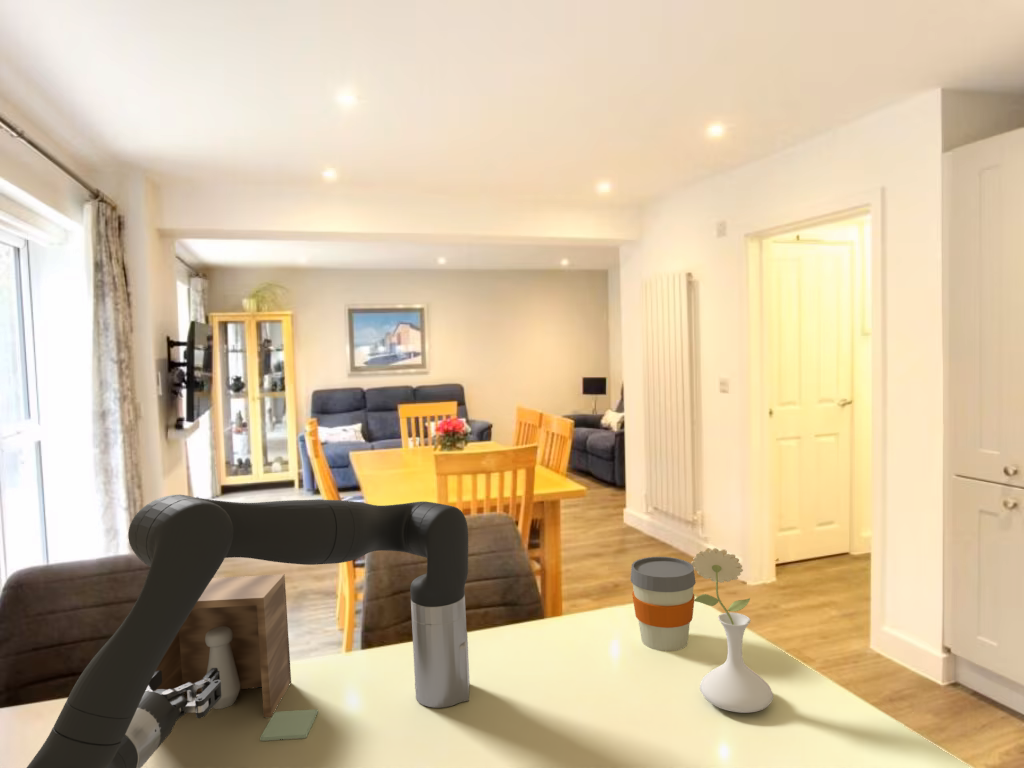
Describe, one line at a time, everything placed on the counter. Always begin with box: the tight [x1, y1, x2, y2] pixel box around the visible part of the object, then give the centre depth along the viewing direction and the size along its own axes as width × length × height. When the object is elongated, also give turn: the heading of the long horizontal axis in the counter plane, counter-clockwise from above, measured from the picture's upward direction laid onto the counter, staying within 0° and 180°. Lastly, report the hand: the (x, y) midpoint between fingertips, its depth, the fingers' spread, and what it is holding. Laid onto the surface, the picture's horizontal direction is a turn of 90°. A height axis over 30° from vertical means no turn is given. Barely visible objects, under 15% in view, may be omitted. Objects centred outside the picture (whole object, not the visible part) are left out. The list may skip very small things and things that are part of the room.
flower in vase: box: [690, 547, 774, 714], centre depth 106 cm, size 13×11×25 cm
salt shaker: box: [205, 626, 241, 710], centre depth 111 cm, size 6×6×13 cm
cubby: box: [155, 573, 292, 718], centre depth 111 cm, size 20×11×20 cm, turn 92°
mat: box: [259, 708, 319, 742], centre depth 104 cm, size 7×7×1 cm
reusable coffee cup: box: [630, 556, 696, 652], centre depth 128 cm, size 13×13×15 cm
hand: (187, 674), depth 100 cm, fingers open, 8 cm apart
